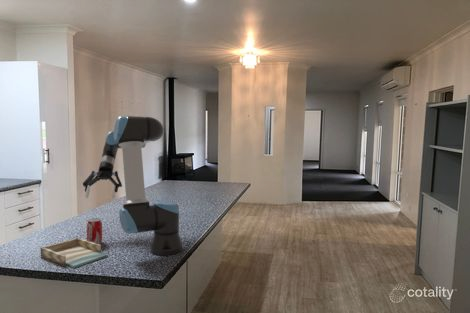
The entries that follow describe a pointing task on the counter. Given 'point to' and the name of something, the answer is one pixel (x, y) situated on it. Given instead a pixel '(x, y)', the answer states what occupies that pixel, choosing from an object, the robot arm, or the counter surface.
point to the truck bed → (73, 252)
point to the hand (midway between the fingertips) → (99, 196)
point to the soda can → (94, 230)
